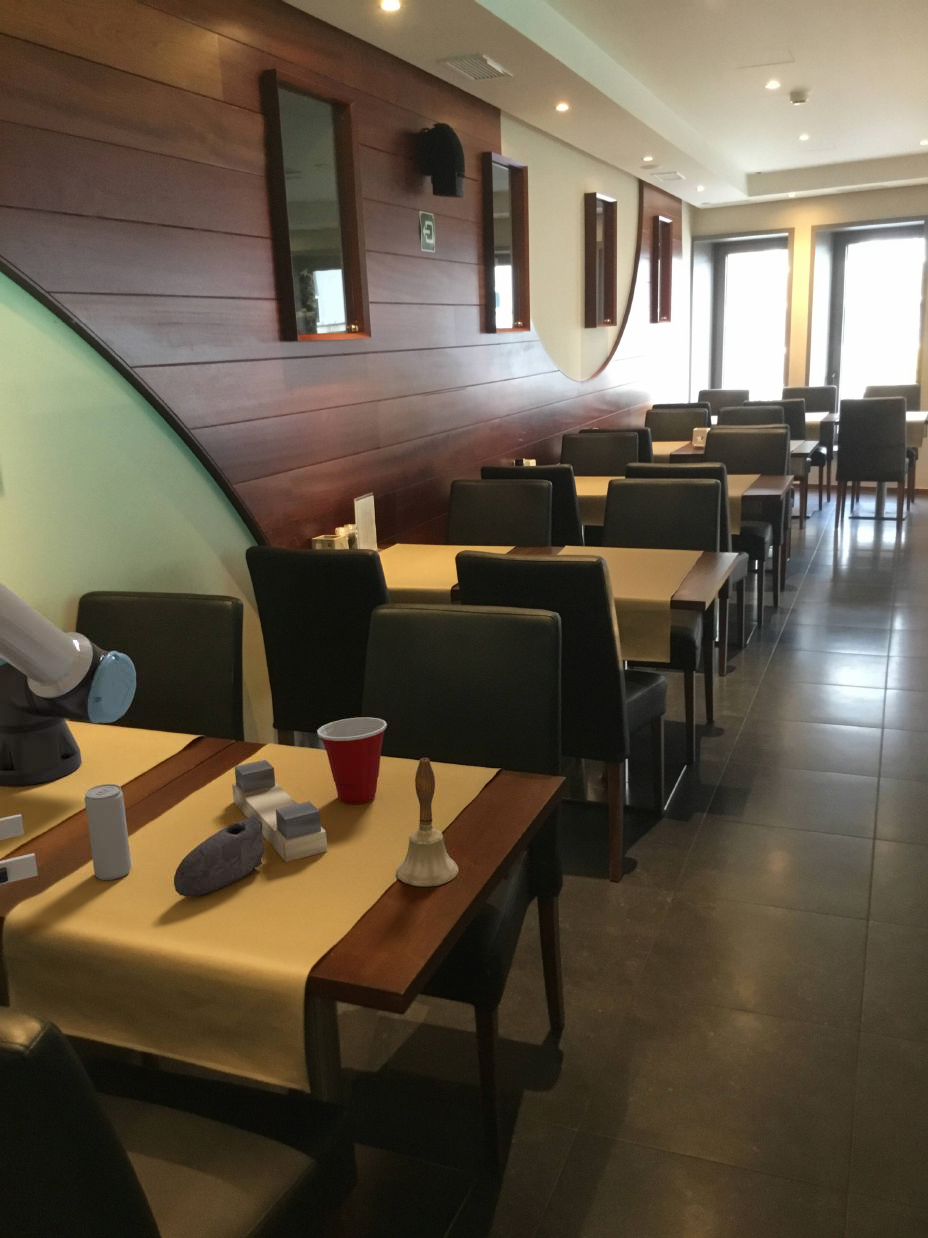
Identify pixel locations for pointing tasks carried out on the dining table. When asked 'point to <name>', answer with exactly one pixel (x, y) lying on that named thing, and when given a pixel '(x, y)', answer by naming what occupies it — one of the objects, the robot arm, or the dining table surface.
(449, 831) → the dining table surface
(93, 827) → the beverage can
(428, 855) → the hand bell
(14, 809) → the dining table surface
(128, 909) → the dining table surface
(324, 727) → the plastic cup
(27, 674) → the robot arm
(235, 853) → the perforated stone tool
